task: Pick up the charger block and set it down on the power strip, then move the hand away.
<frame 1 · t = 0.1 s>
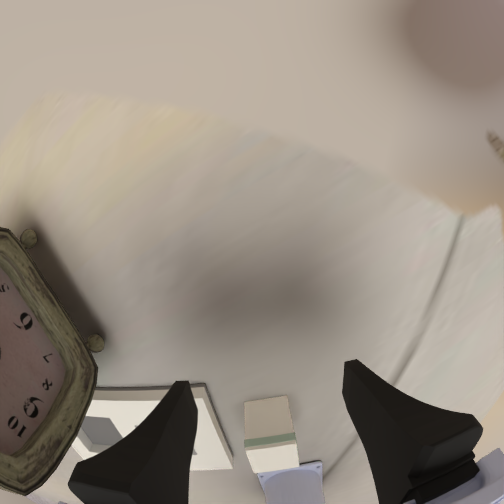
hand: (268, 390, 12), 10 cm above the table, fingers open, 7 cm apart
tabletop clock: (49, 300, 22), on the table
power strip: (132, 426, 26), on the table
charger block: (268, 412, 25), on the table
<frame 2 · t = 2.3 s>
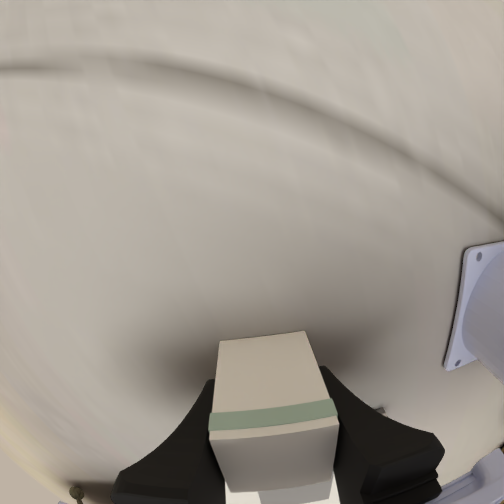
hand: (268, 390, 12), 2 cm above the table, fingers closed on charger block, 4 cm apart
tabletop clock: (130, 500, 19), on the table
power strip: (293, 493, 18), on the table
charger block: (266, 369, 14), on the table, touching gripper
when the fingers open (4 cm above the table, at t = 6.6 s): charger block drops 2 cm, resting on power strip.
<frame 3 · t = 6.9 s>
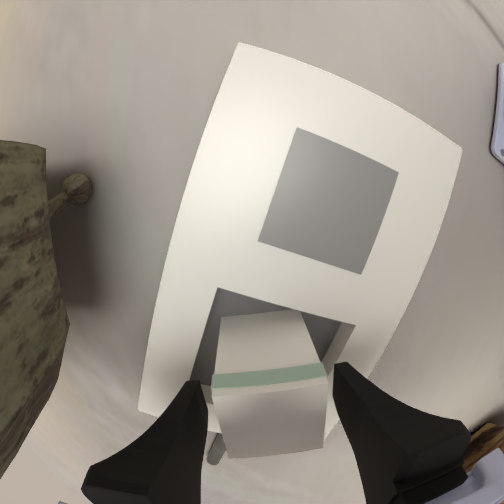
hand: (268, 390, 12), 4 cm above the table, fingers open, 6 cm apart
tabletop clock: (25, 241, 14), on the table
power strip: (289, 283, 15), on the table
ceramic jug: (472, 441, 22), on the table
charger block: (263, 345, 15), resting on power strip
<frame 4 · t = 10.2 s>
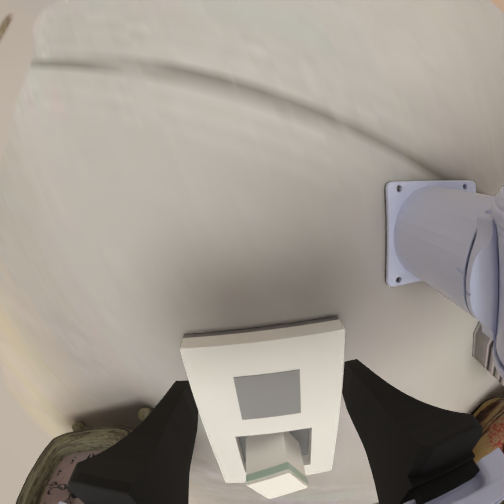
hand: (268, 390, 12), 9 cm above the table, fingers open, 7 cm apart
tabletop clock: (127, 432, 25), on the table
power strip: (271, 414, 25), on the table
ceramic jug: (481, 413, 28), on the table
grey piece: (501, 321, 24), on the table
charger block: (272, 440, 25), resting on power strip
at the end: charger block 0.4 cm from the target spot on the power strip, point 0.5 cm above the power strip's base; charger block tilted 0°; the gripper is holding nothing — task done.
